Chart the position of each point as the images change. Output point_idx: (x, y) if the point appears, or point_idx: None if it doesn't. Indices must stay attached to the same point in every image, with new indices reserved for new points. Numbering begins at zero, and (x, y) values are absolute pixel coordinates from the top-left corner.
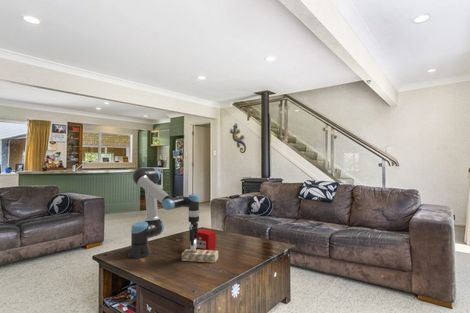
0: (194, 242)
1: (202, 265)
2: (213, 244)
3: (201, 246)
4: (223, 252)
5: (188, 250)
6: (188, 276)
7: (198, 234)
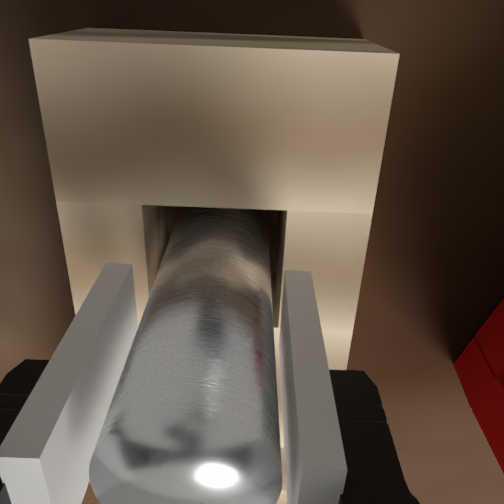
0: (83, 488)
1: (5, 373)
2: None
3: None
4: (495, 499)
5: (277, 144)
6: None
7: None
